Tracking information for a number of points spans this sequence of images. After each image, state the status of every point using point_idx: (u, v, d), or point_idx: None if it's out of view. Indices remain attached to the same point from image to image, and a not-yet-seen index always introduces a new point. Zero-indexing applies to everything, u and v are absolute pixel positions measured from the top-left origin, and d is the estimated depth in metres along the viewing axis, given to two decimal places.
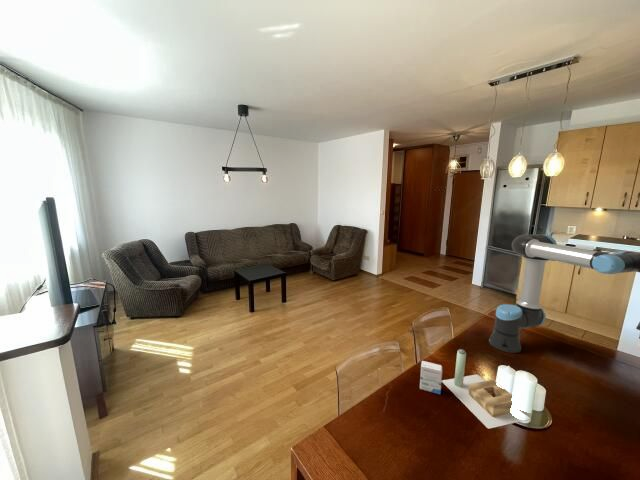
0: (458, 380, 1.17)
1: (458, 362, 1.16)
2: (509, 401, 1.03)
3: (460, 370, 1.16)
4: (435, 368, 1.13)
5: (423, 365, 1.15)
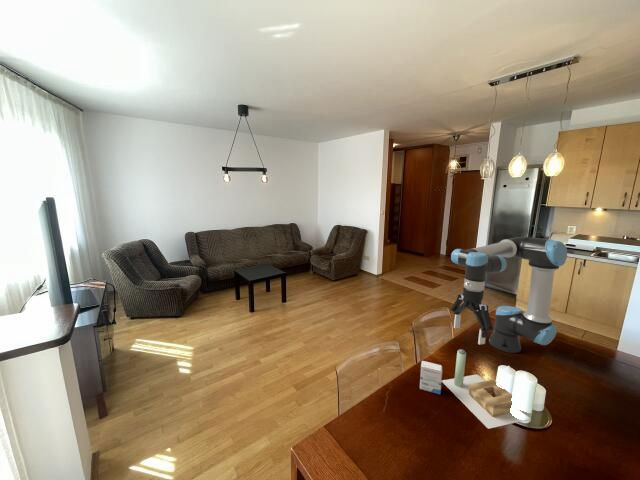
0: (458, 380, 1.17)
1: (458, 362, 1.16)
2: (509, 401, 1.03)
3: (460, 370, 1.16)
4: (435, 368, 1.13)
5: (423, 365, 1.15)
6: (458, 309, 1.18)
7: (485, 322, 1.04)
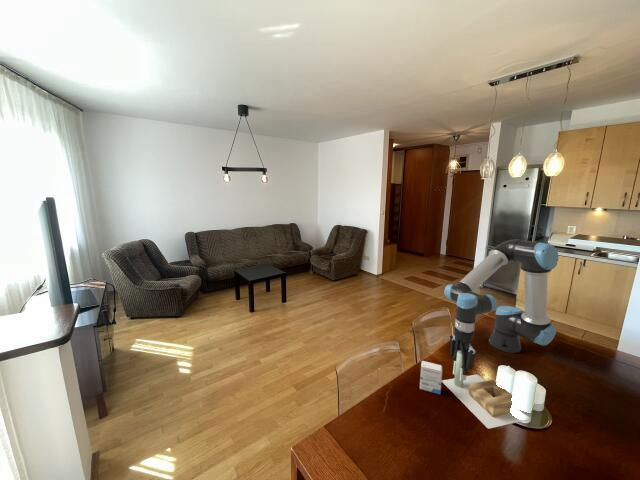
0: (458, 380, 1.17)
1: (458, 362, 1.16)
2: (509, 401, 1.03)
3: None
4: (435, 368, 1.13)
5: (423, 365, 1.15)
6: (455, 353, 1.18)
7: (468, 363, 1.11)
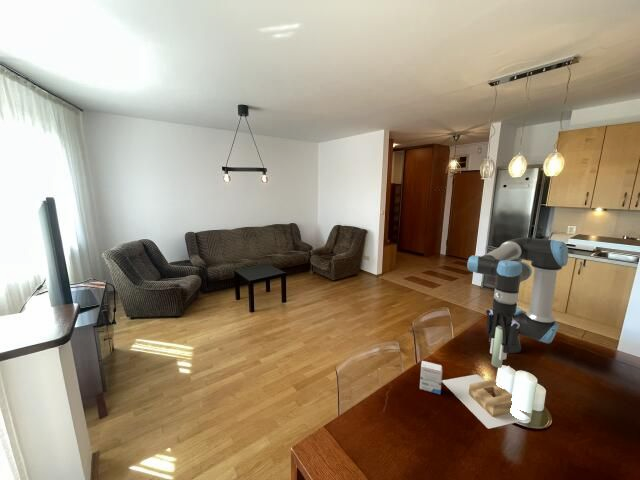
0: (497, 359, 1.03)
1: (497, 339, 1.03)
2: (509, 401, 1.03)
3: None
4: (435, 368, 1.13)
5: (423, 365, 1.15)
6: (493, 329, 1.05)
7: (510, 338, 0.98)
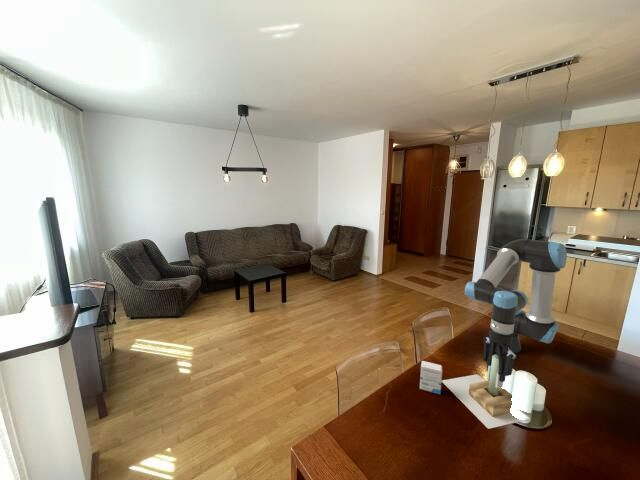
0: (494, 387, 1.06)
1: (493, 368, 1.05)
2: (509, 401, 1.03)
3: None
4: (435, 368, 1.13)
5: (423, 365, 1.15)
6: (489, 357, 1.07)
7: (506, 368, 1.00)
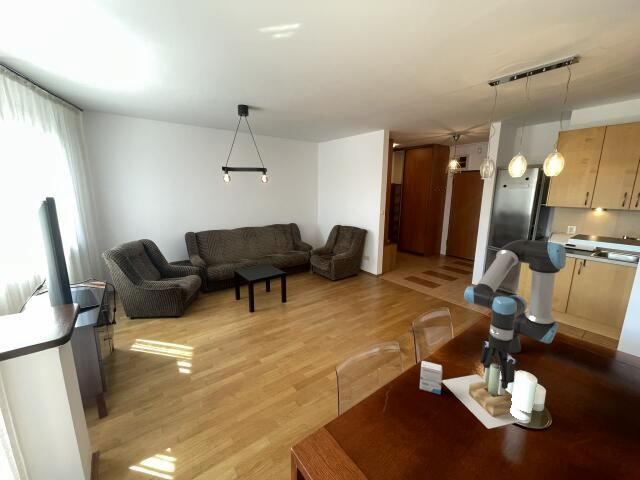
0: None
1: (491, 378, 1.06)
2: (509, 401, 1.03)
3: (494, 387, 1.06)
4: (435, 368, 1.13)
5: (423, 365, 1.15)
6: (487, 360, 1.09)
7: (508, 375, 0.99)
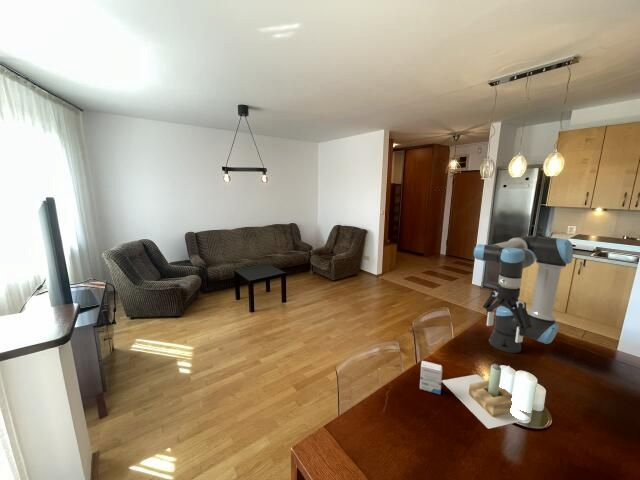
0: None
1: (492, 379, 1.06)
2: (509, 401, 1.03)
3: (495, 387, 1.05)
4: (435, 368, 1.13)
5: (423, 365, 1.15)
6: (491, 306, 1.14)
7: (523, 320, 1.01)
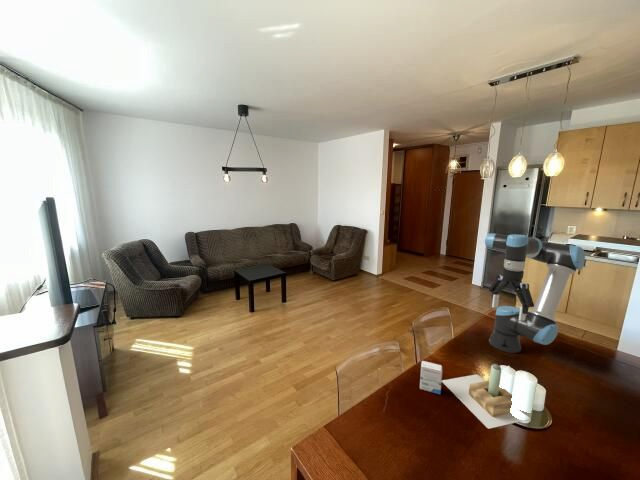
0: None
1: (492, 379, 1.06)
2: (509, 401, 1.03)
3: (495, 387, 1.05)
4: (435, 368, 1.13)
5: (423, 365, 1.15)
6: (497, 289, 1.24)
7: (526, 299, 1.11)
